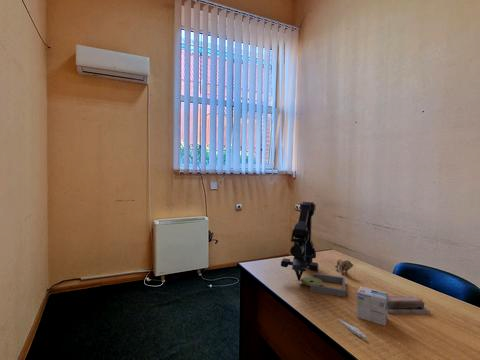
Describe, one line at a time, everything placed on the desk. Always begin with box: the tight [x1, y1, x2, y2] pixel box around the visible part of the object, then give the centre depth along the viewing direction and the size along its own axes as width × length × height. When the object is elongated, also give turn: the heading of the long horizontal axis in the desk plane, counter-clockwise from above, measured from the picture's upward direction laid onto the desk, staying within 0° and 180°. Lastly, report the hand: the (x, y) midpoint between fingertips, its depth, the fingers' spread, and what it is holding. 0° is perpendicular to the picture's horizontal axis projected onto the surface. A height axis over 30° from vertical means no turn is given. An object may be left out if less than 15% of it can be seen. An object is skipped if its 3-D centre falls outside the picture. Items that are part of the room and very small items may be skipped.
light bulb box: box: [355, 286, 389, 326], centre depth 109 cm, size 11×7×11 cm, turn 56°
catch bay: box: [309, 272, 346, 298], centre depth 136 cm, size 16×16×3 cm
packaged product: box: [387, 295, 431, 315], centre depth 117 cm, size 18×5×10 cm
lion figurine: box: [334, 258, 354, 276], centre depth 155 cm, size 15×5×9 cm, turn 14°
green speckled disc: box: [299, 276, 324, 286], centre depth 139 cm, size 11×11×2 cm
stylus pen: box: [336, 318, 367, 341], centre depth 101 cm, size 15×3×2 cm, turn 21°
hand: (299, 280), depth 141 cm, fingers closed
